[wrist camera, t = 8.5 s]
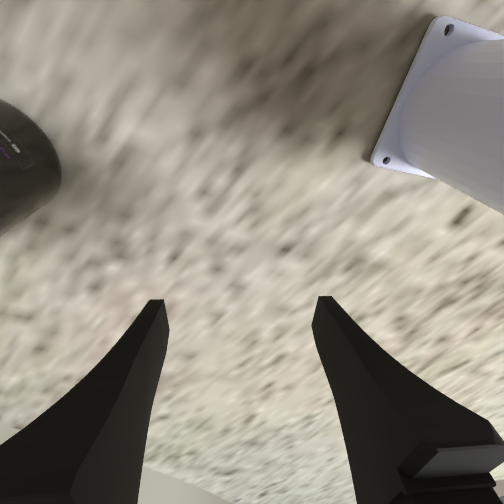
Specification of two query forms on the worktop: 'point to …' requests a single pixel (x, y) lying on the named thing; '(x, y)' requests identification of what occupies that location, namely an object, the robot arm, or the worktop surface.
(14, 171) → the supplement bottle
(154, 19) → the worktop surface
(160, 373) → the robot arm
